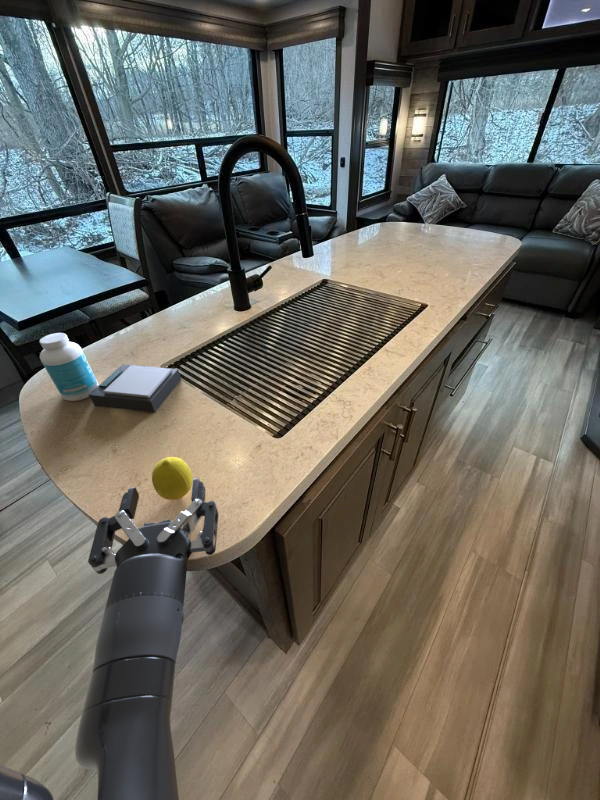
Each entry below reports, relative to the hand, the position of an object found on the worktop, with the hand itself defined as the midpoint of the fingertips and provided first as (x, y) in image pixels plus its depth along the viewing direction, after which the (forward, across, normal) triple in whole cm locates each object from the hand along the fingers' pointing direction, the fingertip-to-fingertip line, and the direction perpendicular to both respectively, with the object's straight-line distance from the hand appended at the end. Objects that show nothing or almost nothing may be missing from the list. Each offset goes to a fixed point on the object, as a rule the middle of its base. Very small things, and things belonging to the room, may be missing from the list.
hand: (166, 486), depth 46 cm
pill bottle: (+35, +24, +6) cm, 43 cm away
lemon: (+3, 0, +6) cm, 7 cm away
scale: (+33, +12, +6) cm, 35 cm away
